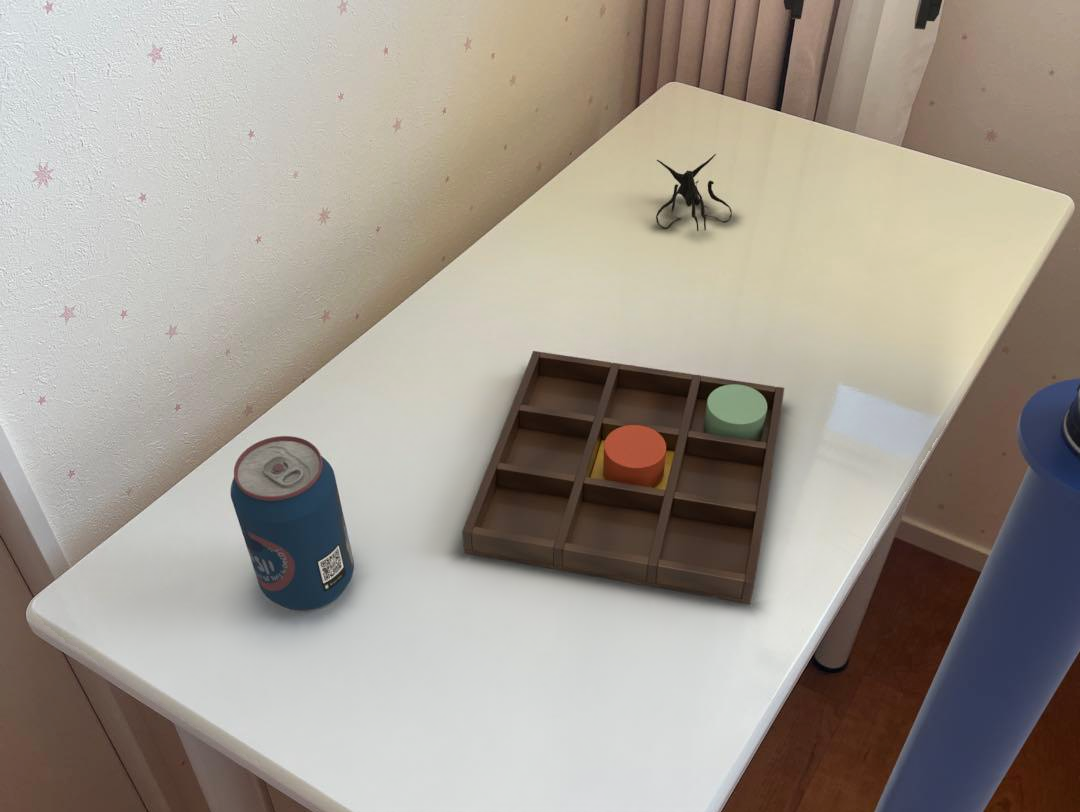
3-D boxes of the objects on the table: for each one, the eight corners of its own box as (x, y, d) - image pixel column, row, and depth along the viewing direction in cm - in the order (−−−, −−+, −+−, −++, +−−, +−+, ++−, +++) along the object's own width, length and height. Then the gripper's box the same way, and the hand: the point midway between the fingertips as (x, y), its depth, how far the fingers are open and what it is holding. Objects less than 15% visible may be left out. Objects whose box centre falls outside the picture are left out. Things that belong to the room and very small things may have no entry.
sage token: (765, 414, 92) (770, 388, 90) (759, 453, 89) (763, 428, 87) (708, 405, 93) (711, 380, 91) (699, 444, 90) (703, 418, 87)
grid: (780, 409, 93) (784, 387, 91) (750, 604, 79) (754, 583, 77) (533, 372, 96) (533, 350, 95) (464, 552, 83) (461, 531, 81)
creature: (736, 239, 111) (717, 183, 115) (746, 199, 107) (726, 142, 110) (661, 248, 110) (643, 191, 114) (667, 208, 106) (649, 149, 110)
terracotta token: (668, 455, 88) (671, 429, 86) (658, 497, 85) (660, 472, 83) (609, 446, 89) (610, 420, 87) (597, 487, 86) (598, 462, 84)
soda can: (241, 586, 81) (201, 470, 72) (312, 532, 84) (283, 415, 75) (305, 635, 78) (272, 520, 69) (376, 576, 81) (353, 460, 72)
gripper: (1032, -266, 67) (960, 6, 80) (796, -276, 70) (762, -10, 82) (1038, -231, 63) (961, 53, 75) (785, -243, 65) (750, 34, 77)
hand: (857, 19), depth 78 cm, fingers open, 8 cm apart
